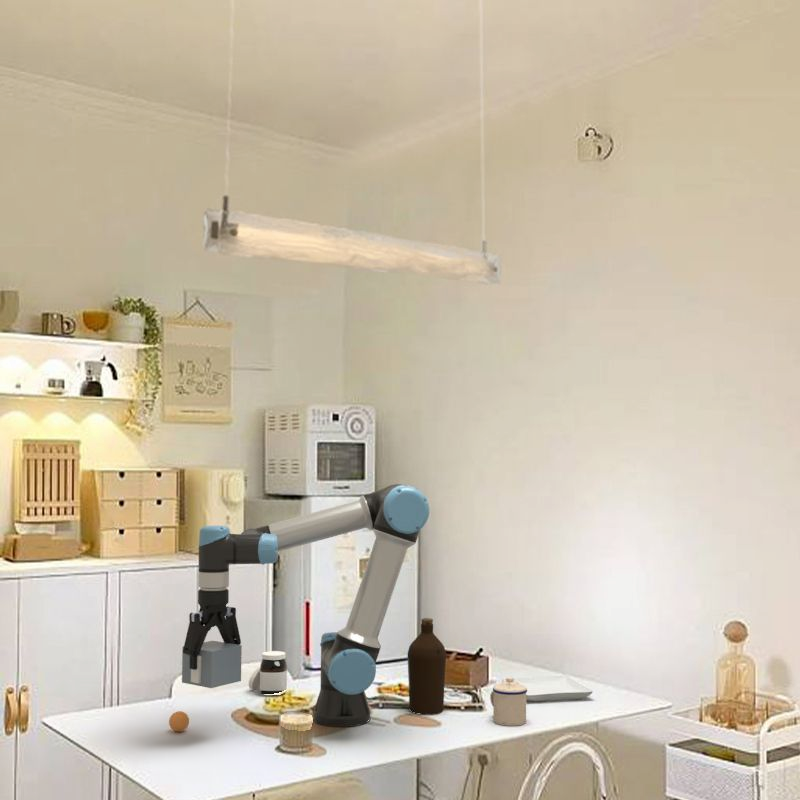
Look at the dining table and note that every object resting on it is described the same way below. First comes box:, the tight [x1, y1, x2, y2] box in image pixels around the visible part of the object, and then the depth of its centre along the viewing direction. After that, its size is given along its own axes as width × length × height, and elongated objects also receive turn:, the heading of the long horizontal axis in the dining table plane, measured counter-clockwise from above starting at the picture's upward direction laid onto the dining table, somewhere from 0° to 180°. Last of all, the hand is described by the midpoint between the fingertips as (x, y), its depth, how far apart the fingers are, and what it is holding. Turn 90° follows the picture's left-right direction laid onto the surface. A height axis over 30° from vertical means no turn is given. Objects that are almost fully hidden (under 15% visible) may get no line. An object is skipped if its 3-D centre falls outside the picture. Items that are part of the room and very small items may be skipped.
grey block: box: [181, 640, 243, 689], centre depth 264 cm, size 10×10×9 cm
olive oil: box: [407, 617, 447, 715], centre depth 294 cm, size 11×11×25 cm
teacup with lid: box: [489, 676, 527, 727], centre depth 283 cm, size 12×9×12 cm
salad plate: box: [501, 675, 594, 703], centre depth 314 cm, size 21×21×3 cm
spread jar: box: [248, 650, 288, 695], centre depth 313 cm, size 12×11×12 cm
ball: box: [168, 710, 190, 733], centre depth 270 cm, size 5×5×5 cm
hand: (212, 678), depth 264 cm, fingers closed on grey block, 10 cm apart
